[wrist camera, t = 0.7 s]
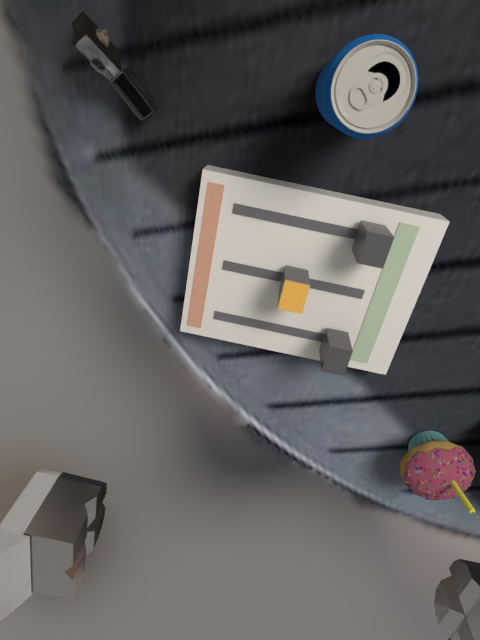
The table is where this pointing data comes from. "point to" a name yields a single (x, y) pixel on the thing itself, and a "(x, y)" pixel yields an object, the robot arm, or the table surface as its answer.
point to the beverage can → (367, 86)
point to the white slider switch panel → (302, 267)
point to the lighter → (111, 65)
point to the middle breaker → (293, 289)
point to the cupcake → (437, 468)
